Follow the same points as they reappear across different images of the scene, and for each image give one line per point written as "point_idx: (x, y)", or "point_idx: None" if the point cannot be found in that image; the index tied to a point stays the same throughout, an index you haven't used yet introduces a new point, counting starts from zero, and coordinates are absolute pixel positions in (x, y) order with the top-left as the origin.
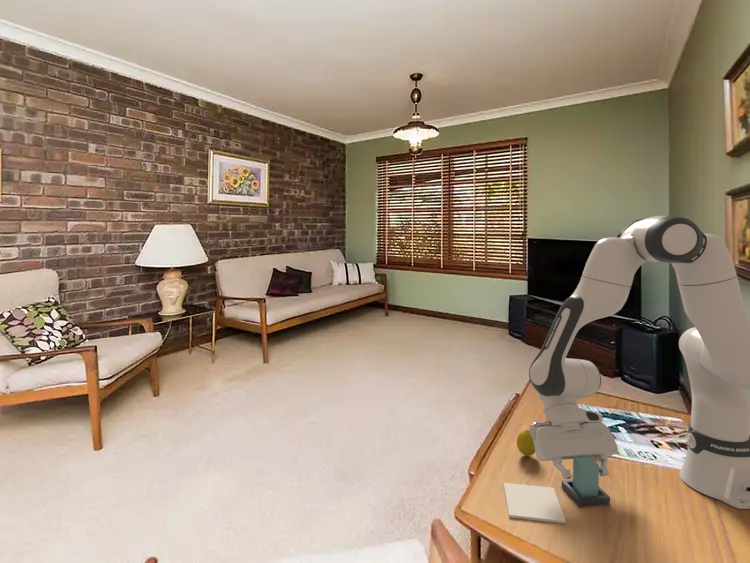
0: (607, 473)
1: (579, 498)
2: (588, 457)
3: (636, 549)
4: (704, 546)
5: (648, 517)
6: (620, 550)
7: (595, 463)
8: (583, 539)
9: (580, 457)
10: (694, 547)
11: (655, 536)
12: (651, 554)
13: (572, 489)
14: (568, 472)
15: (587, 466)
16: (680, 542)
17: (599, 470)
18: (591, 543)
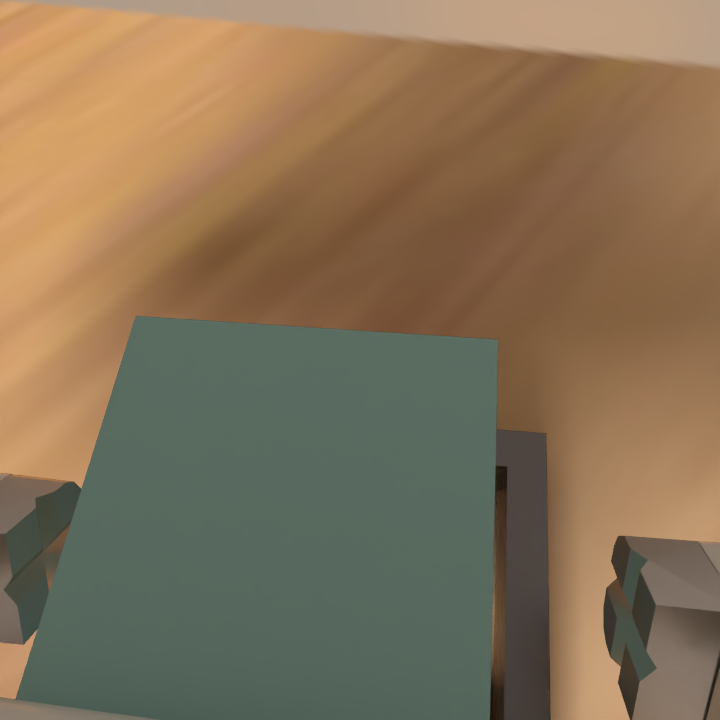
0: (2, 475)
1: (532, 455)
2: (87, 647)
3: (411, 74)
4: (30, 49)
5: (75, 258)
6: (512, 78)
7: (157, 377)
8: (704, 168)
9: (295, 710)
10: (86, 50)
11: (208, 128)
12: (357, 42)
13: (518, 623)
14: (684, 578)
15: (397, 340)
16: (118, 81)
17: (39, 579)
18: (666, 137)
